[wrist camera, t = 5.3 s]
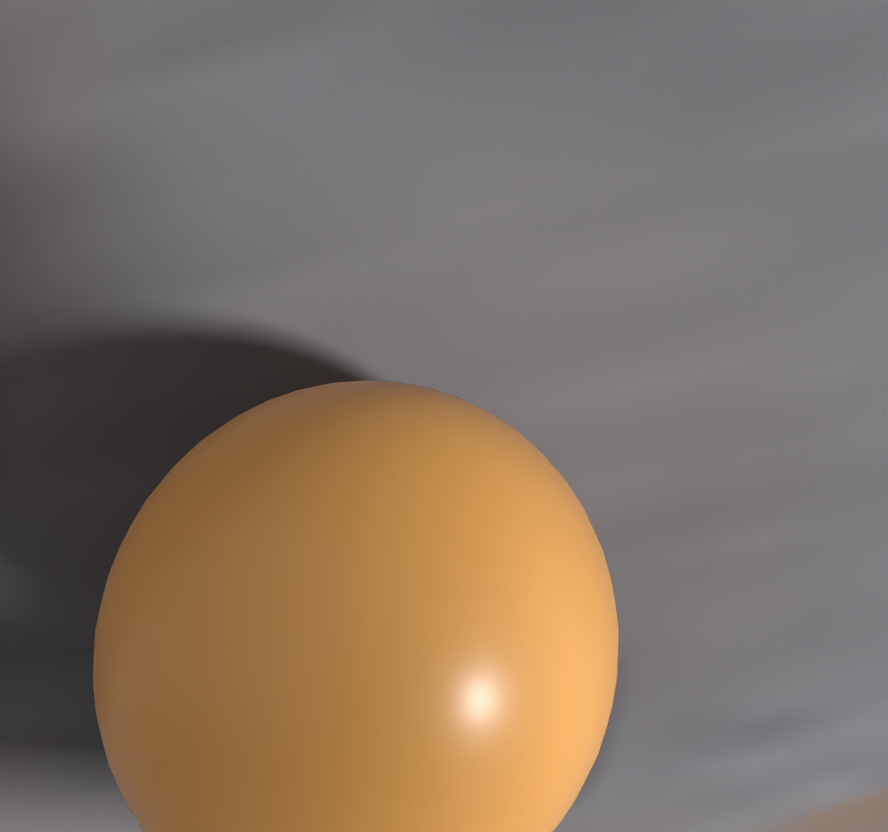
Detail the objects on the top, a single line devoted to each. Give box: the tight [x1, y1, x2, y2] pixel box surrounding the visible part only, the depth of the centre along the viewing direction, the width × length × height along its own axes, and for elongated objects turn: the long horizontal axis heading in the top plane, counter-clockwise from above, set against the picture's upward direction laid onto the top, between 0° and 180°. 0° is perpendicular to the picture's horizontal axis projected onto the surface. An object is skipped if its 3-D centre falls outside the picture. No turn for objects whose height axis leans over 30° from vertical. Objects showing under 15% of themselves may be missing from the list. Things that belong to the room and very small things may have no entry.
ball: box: [93, 380, 618, 832], centre depth 8 cm, size 6×6×6 cm
